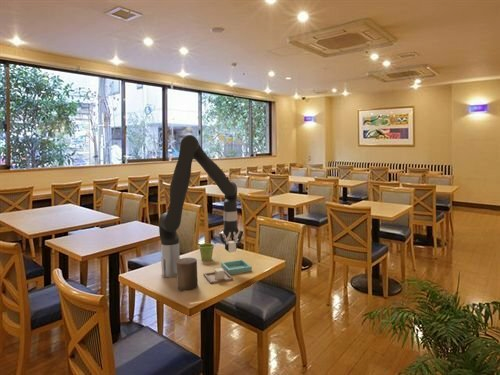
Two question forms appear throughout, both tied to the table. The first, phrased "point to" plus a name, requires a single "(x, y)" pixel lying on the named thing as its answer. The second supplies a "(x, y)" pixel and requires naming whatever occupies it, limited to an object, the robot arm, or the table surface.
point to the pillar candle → (187, 274)
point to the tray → (211, 279)
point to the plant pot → (206, 251)
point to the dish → (236, 266)
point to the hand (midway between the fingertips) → (231, 249)
